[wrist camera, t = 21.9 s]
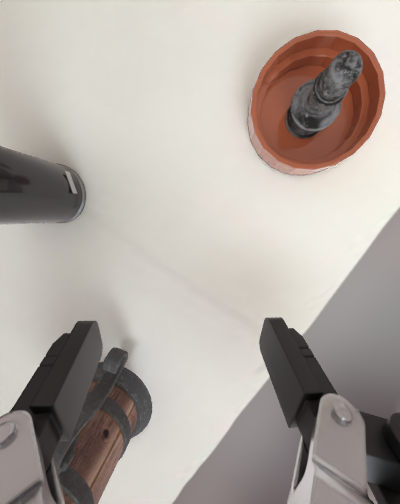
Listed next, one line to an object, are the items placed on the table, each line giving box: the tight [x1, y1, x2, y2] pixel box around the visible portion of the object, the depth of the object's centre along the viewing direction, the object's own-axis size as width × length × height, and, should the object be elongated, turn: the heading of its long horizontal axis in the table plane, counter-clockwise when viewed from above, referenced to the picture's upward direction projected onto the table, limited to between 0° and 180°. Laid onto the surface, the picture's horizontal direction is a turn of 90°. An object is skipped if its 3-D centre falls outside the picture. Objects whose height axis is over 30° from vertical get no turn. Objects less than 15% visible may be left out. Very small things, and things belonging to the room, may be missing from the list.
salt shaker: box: [285, 50, 363, 139], centre depth 24 cm, size 6×6×12 cm
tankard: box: [54, 348, 152, 504], centre depth 31 cm, size 23×17×20 cm
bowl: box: [248, 30, 385, 175], centre depth 28 cm, size 15×15×4 cm
